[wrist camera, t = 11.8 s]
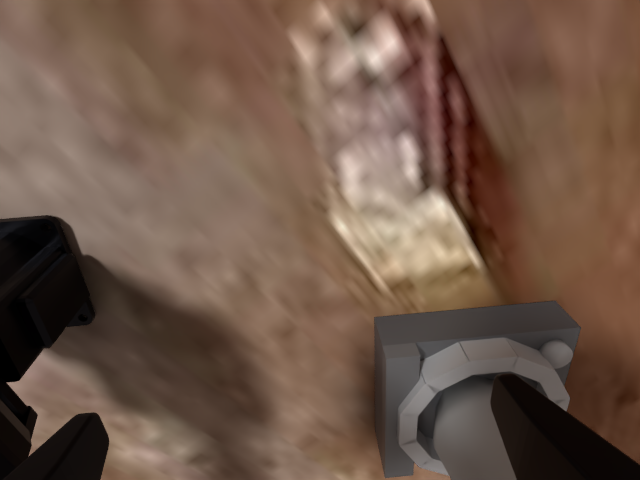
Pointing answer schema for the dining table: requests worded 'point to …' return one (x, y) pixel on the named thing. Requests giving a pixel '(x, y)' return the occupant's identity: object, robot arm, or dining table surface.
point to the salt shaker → (470, 433)
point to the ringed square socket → (460, 368)
